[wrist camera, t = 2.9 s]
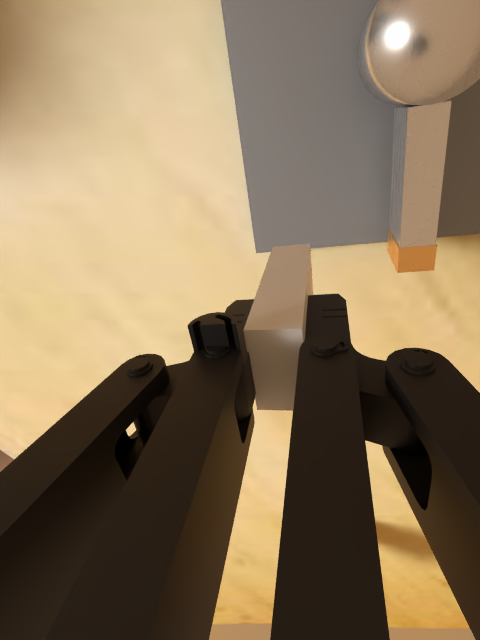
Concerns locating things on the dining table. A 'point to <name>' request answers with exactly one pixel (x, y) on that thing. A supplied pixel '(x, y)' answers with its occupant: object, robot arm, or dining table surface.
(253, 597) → the dining table surface
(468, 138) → the grey base plate
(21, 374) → the dining table surface
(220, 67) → the dining table surface
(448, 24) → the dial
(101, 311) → the dining table surface
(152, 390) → the robot arm
